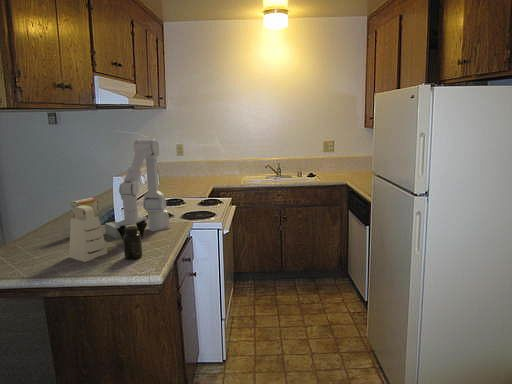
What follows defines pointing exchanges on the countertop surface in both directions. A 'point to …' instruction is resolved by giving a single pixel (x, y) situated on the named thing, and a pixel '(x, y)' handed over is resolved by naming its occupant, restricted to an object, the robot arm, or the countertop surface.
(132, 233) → the supplement bottle
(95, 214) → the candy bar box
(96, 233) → the grater
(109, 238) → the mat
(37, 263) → the countertop surface
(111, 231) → the block
